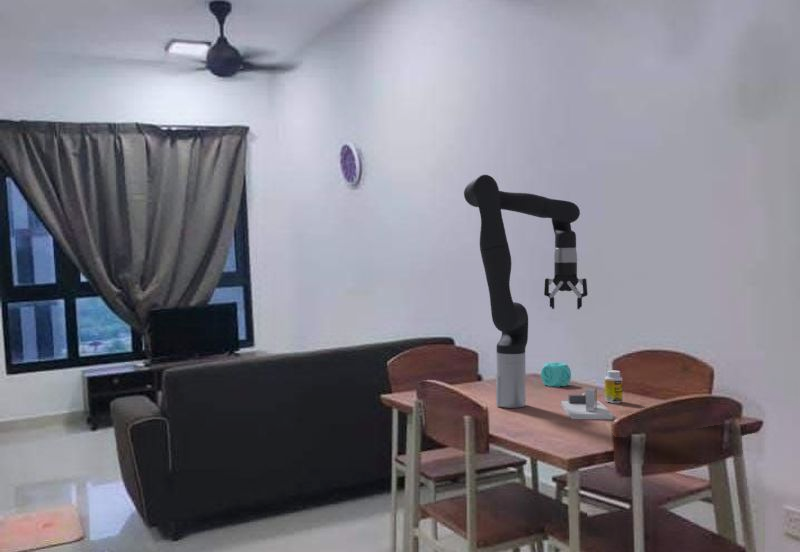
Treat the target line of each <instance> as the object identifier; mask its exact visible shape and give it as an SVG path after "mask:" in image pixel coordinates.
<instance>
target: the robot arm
mask: <svg viewBox="0 0 800 552" xmlns="http://www.w3.org/2000/svg"><path fill="white" fill-rule="evenodd" d="M463 196H464V200H465V201H466V202H467V204H468V205H470V206H472V207H475V208H478V211H479V214H480V231H479V232H480V233H479V251H480V256H481V260H482V263H483V268H484V272H485V273H484V274H485V279H486V283H487V287H488V293H489V301H490V303H489V304H490V311H491V312H490V313H491V320H492V323H493V325H494V326H495V328H496V329H497V330H498V331H500V332H501V337H500V339H499V340H498V342H497V344H496V375H495V383H496V384H495V390H496V391H495V393H496V394H495V400H496V402H495V403H496V406H497V408H511V409H516V408H524V407H525V406H527V405H526V401H527V400H526V397H527V396H526V393H527V392H526V389H527V387H526V347H527V344H528V339H529V313H528V311H527V309H526V307H525V306H524V305H523V304H522V303H519V302H514V301H513V297H512V292H511V286H510V281H511V273H512V255H511V251H510V246H509V242H508V239H507V234H506V229H505V225H504V220H503V216H502V214H503V213H502V210H503V211H504V210H505V211H511V212H515V213H519V214H520V213H521V214H526V215H528V216H533V217H537V218H541V219H551V224H552V230H553V232H554V257H553V259H554V275H553V276H554V277H553V278H549V277H548V278H545V279H544V289H543V290H544V292H543V293H544V296H545V297H547V298H549V307H550V308H551V310H554V309H555V295H556V294H557V293H558V292H559V291H560V292H565V291H566V292H571V291H573V293H574V294H575V295H576V297H577V298H576V299H577V300H576V302H577V303H576V305H577V307H576V309H577V310H581V308H582V306H583V298H585V297H587V296H588V284H587V283H588V280H587V278H578V252H577V235H576V232H575V231H574V230H572V226H571V223H574V222H576V221H577V220H578V219H579V217H580V215H581V212H580V208H579V206H578V204H576V203H574V202H572V201H568V200H562V199H553V198H548V197H546V196H542V195H537V194H533V193H529V192H528V193H527V192H511V191H510V192H508V191H502V190H500V189H499V186H498V183H497V181H496V179H494V177H492V176H490V175H489V174H481V175H479V176H477V177H476V178H474V179H472V180H471V181H470V182H469V183H468V184H467V185H466V186H465V188H464V190H463ZM552 283H553V284H554V285H555V288H554V289H553V290H552V291H551V292H549V291H550V286H551V285H552ZM578 283H579V284H580V285H581V286H582V292H583V293H581V291H580V290H579V289H578V288H577V285H578Z"/></svg>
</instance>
